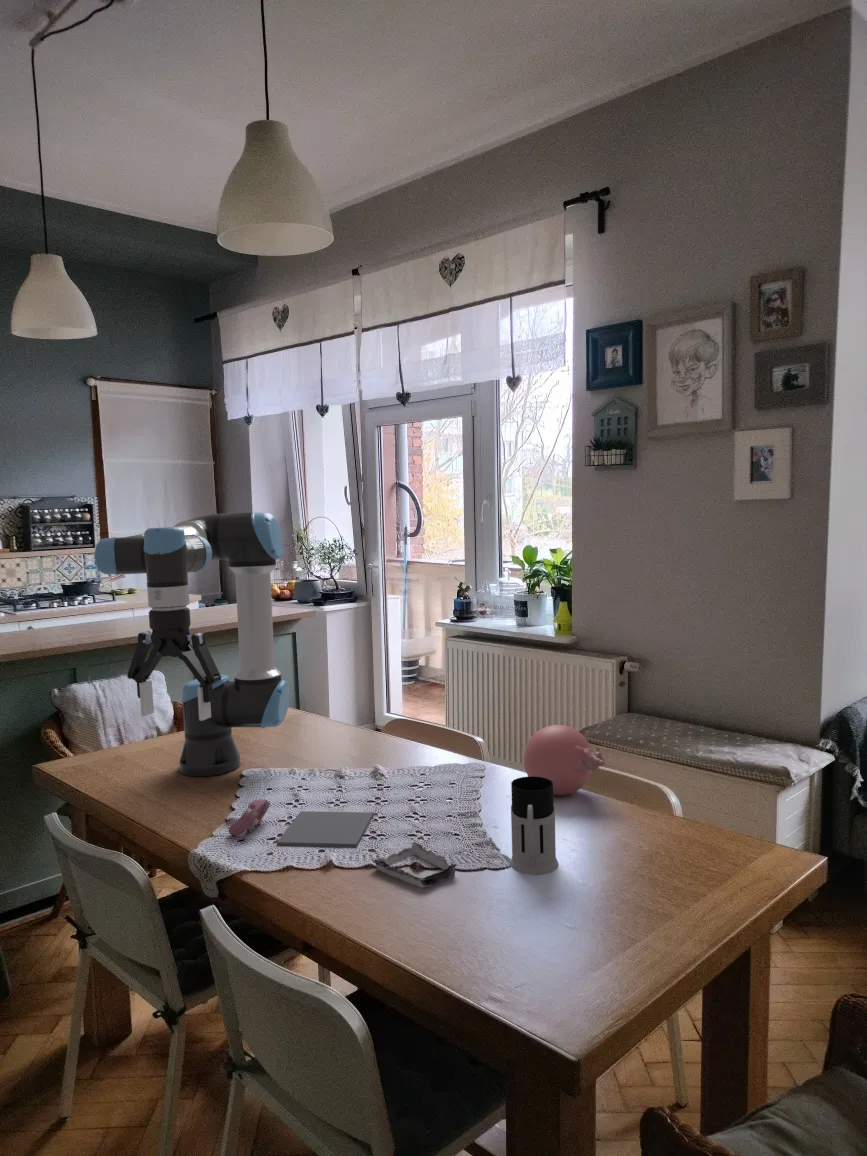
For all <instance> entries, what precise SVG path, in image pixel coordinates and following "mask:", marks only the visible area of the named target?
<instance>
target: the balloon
mask: <svg viewBox="0 0 867 1156" xmlns="http://www.w3.org/2000/svg"><path fill="white" fill-rule="evenodd" d="M525 745H526V746H525V748H524V751H523V752H524V753H523V766H524V770H525V772H526V775H527V777H529V776H534V777H543V778H547V779H549V780H551V781H552V782H553V796H567V795H570V794H573V793H576V792H578V791H579V790H581V789H582V788H583V787H584V786H585V785H586V784H587V783H588V781H589V779H590V777H591V775H592V772H593V771H597V770H598V769H599V767H604V766H605V759H604V757H602V756H603V754H602V752H600V751H595V752H594V750H593V749H592V747H591V745H590V743H589V741H588V740H587V738H586V737H585V736H584V735H583V734H582V733H581V732H580V731H578V730H576V729H575V728H573V727H571V726H568V725H564V724H552V725H547V726H544V727H542V728H541V729H539V730H537V731H536V732H535V733H533V735H531V737H530V738H529V740H528V742H527V743H526V744H525Z"/></svg>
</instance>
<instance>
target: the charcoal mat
mask: <svg viewBox="0 0 867 1156" xmlns="http://www.w3.org/2000/svg"><path fill="white" fill-rule="evenodd" d="M374 815H375V813H374V812H369V811H368V812H367V811H363V812H357V811H356V812H355V811H313V810H312V811H306V810H301V811H300V812H299V813H298V814H297V815H296V816H295V818H294V819H293V820H292V822H291V823H290V824H289V826H288V827H287V828H286V829H285V831H284V832H282V833H283V834H281V835H280V837H279V839H278V840H277V841H276V846H300V847H301V846H304V847H305V846H306V847H308V846H309V847H310V846H311V847H339V848H340V847H342V848H343V847H344V848H345V847H347V848H349V847H350V848H357V847H358V845H359V844H360V842H361V840H362V838H363V836H364V834H365V832H366V830H367V829H368V827H369V825H370V823H371V821H372V819H373V817H375V816H374Z"/></svg>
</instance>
